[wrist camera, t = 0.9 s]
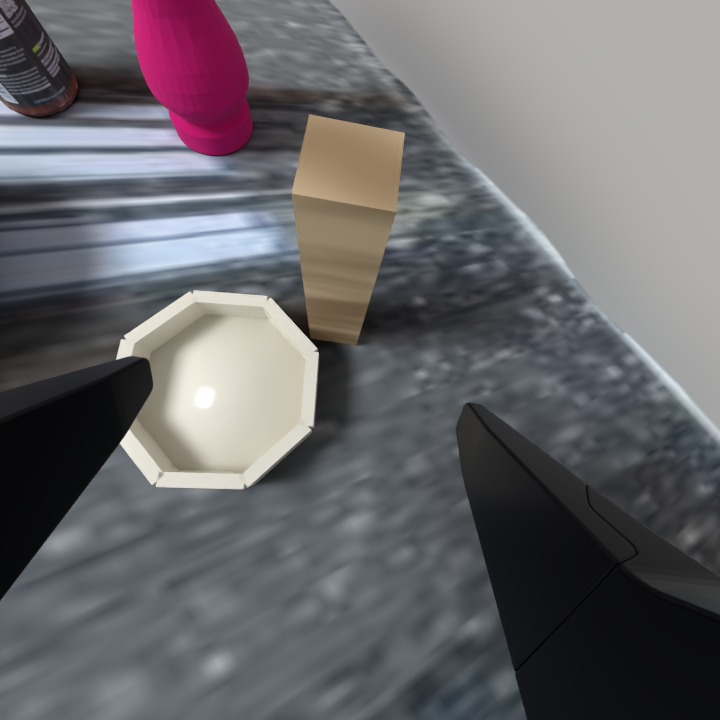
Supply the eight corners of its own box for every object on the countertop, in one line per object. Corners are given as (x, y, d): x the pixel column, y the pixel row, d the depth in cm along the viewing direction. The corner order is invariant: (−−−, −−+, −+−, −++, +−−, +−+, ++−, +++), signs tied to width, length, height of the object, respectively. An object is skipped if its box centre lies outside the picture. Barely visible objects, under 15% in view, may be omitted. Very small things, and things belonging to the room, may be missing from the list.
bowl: (352, 396, 23) (355, 390, 21) (208, 527, 20) (192, 537, 18) (244, 278, 25) (236, 260, 22) (95, 383, 21) (66, 374, 19)
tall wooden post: (356, 345, 24) (396, 212, 11) (310, 338, 24) (291, 193, 10) (362, 303, 25) (404, 132, 12) (317, 296, 25) (309, 113, 11)
